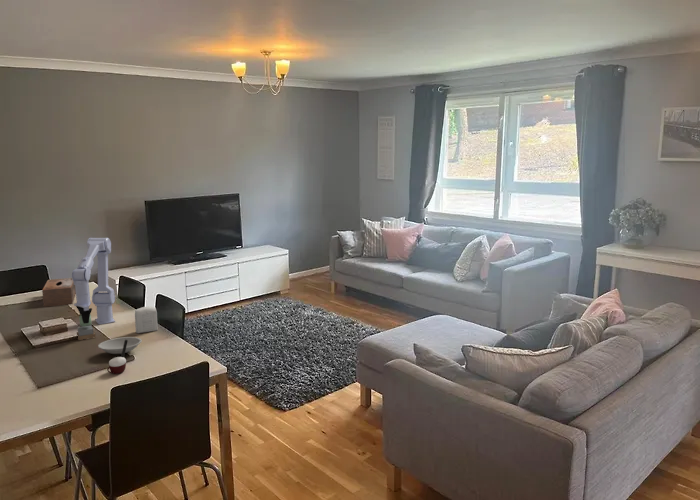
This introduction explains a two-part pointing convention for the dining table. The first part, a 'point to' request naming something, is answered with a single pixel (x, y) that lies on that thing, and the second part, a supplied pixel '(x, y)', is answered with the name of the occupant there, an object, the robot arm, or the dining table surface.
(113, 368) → the cocoa
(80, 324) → the pale green block
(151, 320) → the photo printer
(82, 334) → the slate top block
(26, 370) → the dining table surface
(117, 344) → the dish
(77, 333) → the walnut base block
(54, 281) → the tissue box cover
